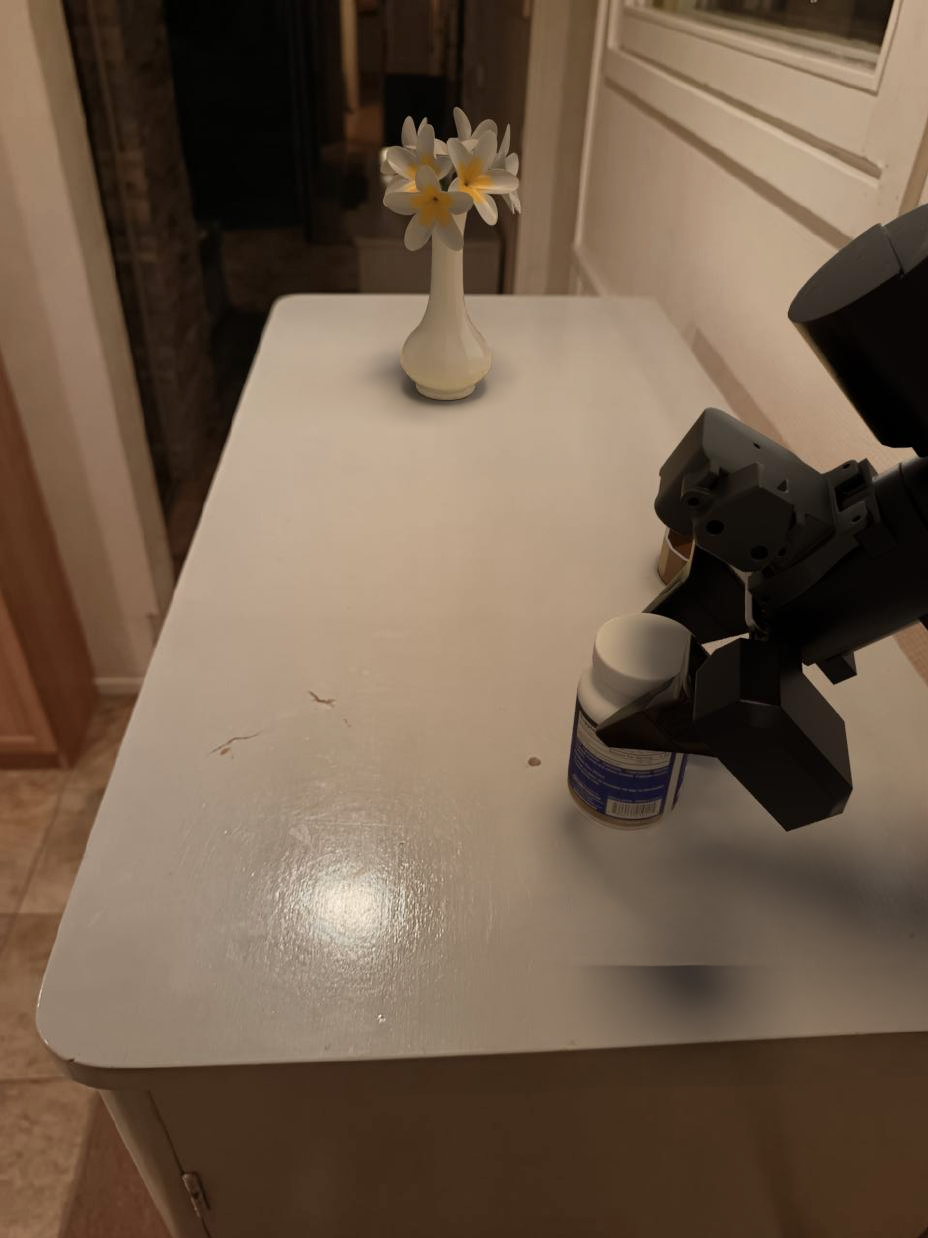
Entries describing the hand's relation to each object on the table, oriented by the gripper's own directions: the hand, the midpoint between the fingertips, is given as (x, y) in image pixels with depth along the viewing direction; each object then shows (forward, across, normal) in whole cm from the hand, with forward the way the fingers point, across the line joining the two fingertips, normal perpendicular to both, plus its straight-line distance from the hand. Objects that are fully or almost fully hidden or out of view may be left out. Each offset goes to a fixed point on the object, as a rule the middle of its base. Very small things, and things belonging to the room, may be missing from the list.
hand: (609, 692), depth 42 cm
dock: (+3, -26, +11) cm, 29 cm away
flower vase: (+22, -52, -8) cm, 58 cm away
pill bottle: (+4, 0, +6) cm, 7 cm away
